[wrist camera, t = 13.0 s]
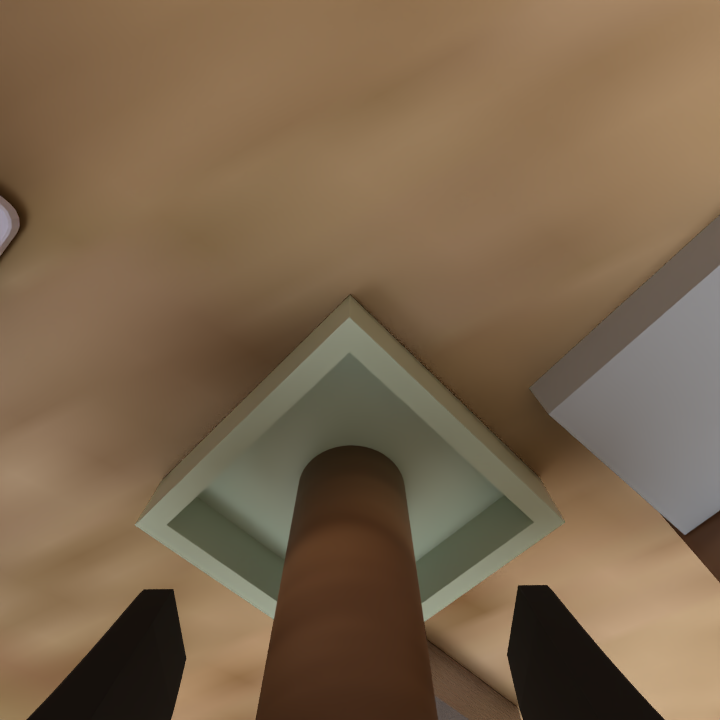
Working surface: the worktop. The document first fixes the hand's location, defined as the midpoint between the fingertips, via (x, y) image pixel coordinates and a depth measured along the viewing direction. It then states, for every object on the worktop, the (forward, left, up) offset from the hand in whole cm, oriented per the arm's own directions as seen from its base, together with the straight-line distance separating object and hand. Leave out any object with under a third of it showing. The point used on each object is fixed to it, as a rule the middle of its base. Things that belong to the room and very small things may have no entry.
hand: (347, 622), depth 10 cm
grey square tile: (+4, +10, -6) cm, 12 cm away
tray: (0, 0, -5) cm, 5 cm away
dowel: (0, 0, -5) cm, 5 cm away
